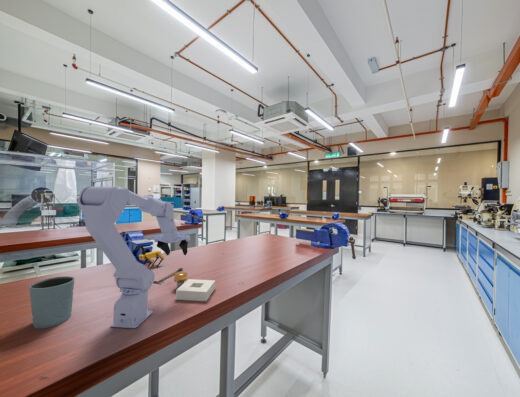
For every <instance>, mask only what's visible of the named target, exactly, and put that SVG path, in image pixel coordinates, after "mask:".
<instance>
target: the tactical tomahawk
mask: <svg viewBox="0 0 520 397" xmlns="http://www.w3.org/2000/svg"><path fill="white" fill-rule="evenodd" d="M183 269H184V268H183V267H180V268H178V269H177V271H174V272H173V273H170V274H168V275H167V276H164V277H163V278H161V279H159V281H156V280H154V282H153V284H157V285H161V284H164V283H165V282H164V281H165V280H167V279H170V278H171V277H174V274H175V273H178V272H182V271H183Z"/></svg>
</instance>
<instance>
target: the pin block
mask: <svg viewBox="0 0 520 397" xmlns="http://www.w3.org/2000/svg"><path fill="white" fill-rule="evenodd" d="M215 290H216V279H213V280H212V279H194V278H193V279H190V278H189V279H188V278H187V280H186V281H184V284H182V285H181V286H180V287H179V288H178V289H177V288H176V290H175V300H176V301H192V302H193V301H196V302H197V301H198V302H207V301H208V300H209V298H210V297H211V295H212V294H213V292H214V291H215Z"/></svg>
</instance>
